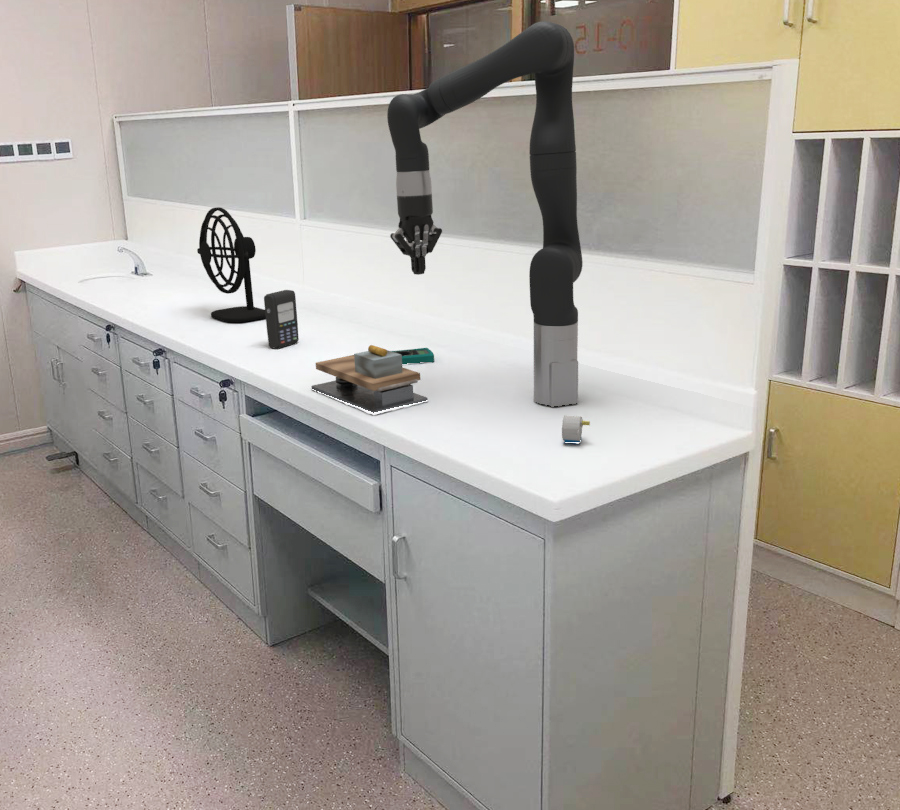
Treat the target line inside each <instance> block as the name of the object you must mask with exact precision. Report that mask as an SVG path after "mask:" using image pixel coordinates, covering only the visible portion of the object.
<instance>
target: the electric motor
mask: <svg viewBox="0 0 900 810" xmlns="http://www.w3.org/2000/svg"><path fill="white" fill-rule="evenodd" d="M562 418H563V419H562V425H561V438H562V440H563V441H564V443H565V442H580V440H581V441H582V435H583V434H582V433H583V427H584V426H590V425H591V421H590V420H584V419H583V417H582V416H577V415H576V416H575V415H563V417H562Z"/></svg>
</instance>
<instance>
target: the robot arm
mask: <svg viewBox="0 0 900 810" xmlns="http://www.w3.org/2000/svg"><path fill="white" fill-rule="evenodd" d="M574 61H575V43H574V40H573V37H572V35H571V33H570V32H569V30H568V29H567V28H565V26H564V25H563V26H562V25H560V24H558V23H554V22H552V21H543V20H542V21H537V22H535V23H533V24H532V25H530V26H528V27H527V28H526V29H524V30H523V31H522V32H520V33H519V34H517V35H516V36H514V37H513V38H512V39H510V40H509V41H508V42H506V43H505V44H503V45H502V46H500V47H498V48H497V49H495V50H494V51H492V52H490V53H488V54H487V55H485V56H483V57H481V58H479V59H477V60H475V61H473V62H471V63H469V64H466V65H464V66H462V67H459V68H458V69H455V70H454V71H452V72H449V73H447V74H445V75H443V76H441V77H439V78H437V79H435V80H434V81H432V82H431V83H429V86H428V87H427V88H425V89H423V90H420V91H419V92H416V93H413V94H407V93H405V94H404V93H402V94H401V93H400V94H397V95H396V96H394V97H393V98H392V99H391V100H390V102H389V104H388V107H387V113H386V114H387V115H386V116H387V125H388V130H389V132H390V133H389V134H390V137H391V141H392V145H393V147H394V150H395V152H394V153H395V170H396V176H395V177H396V180H395V187H396V188H395V189H396V202H397V204H396V206H397V215H398V217H399V222H398V229H396V231H395V232H394V233H393V232H392V233H390V234H389V236H390V239H391V240H392V242H393V243H394V244H395V245H396V247H397V248H398V249H399V251H400V252H401V253H402V254H403V255H405V256H408V257H409V258H410V265H411V267H410V268H411V272H413V274H414V275H424V274H425V272H426V269H427V267H426V257H427V255H428V254H431V253H432V252H433V251H434V249H435V247H436V245H437V242H438V241H439V238H440V237H441V235H442V234H443V229H442V228H440V227H437V226H436V225H435V224H434V220H433V218H432V215H433V212H434V209H433V190H432V177H431V173H430V155H429V149H428V145H427V144H426V143H425V142H423V140H422V138H421V131H420V129H423V128H425V127H427V126H429V125H432V124H434V123H435V122H436V121H438V120H440V119H441V118H442V117H443V118H444V116H445V115H448V114H450V113H453V112H455V111H457V110H460V109H461V108H464V107H466V106H468V105H471V104H472V103H475V102H476V101H478V100H480V99H481V98H483V97H484V96H486V95H487V94H488V93H490V92H492V91H493V90H494V89H497V87H499V86H501V85H503V84H505V83H507V82H509V81H513V80H514V79H518V78H520V77H524V76H528V75H532V74H533V75H534V76H533V77H534V83H535V93H536V94H535V95H536V96H535V99H536V102H535V111H534V117H533V122H532V124H531V125H532V126H531V130H530V131H531V133H530V138H529V169H530V180H531V185H532V189H533V192H534V195H535V199H536V202H537V204H538V207H539V210H540V214H541V217H542V218H541V219H542V230H543V237H542V238H543V239H542V248H541V249H539V250H538V251H537V252H535V254H534V255H533V257H531V258H532V259H531V260H530V266H529V279H528V280H529V299H530V300H529V301H530V309H531V312H532V315H533V401H534V402H535V401H536V402H537V403H536V402H535V403H536V404H538V403H540V404H539V405H541V404H545V405H544V406H547V405H550V406H551V407H550V406H549V407H550V408H555V407H554V406H558V407H563V406H562V405H565V406H570V405H569V404H572V405H577V404H576V403H578V404H579V400H578V399H579V398H578V397H579V361H578V347H579V346H578V338H579V337H578V336H579V332H578V331H579V327H578V326H579V310H578V307H576V305H575V302H574V283H575V282H576V281H577V280H578V279H579V277H580V276H581V273H582V271H583V264H584V263H583V255H582V248H581V247H582V246H581V241H580V234H579V233H580V232H579V226H578V216H577V214H578V210H577V209H578V208H577V207H578V185H577V183H578V182H577V173H578V172H577V167H578V166H577V152H576V150H577V147H576V145H577V144H576V134H575V133H576V132H575V117H574V109H573V107H574V106H573V83H574V82H573V81H574V78H573V77H574V64H575V63H574Z"/></svg>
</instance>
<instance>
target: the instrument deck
mask: <svg viewBox="0 0 900 810" xmlns="http://www.w3.org/2000/svg"><path fill="white" fill-rule="evenodd" d="M367 349H368V350H367V351H362V352H356V353H354V354H352V355H347V356H343V357H341V356H340V357H337V358H332V359H326V360H323V361H317V362H315V369H316V370H317V371H321V372H323V373H325V374H328V375H331V376H333V377H335V378H336V377H338V378H341V379H343V380H346V381H349V382H351V383H354V384H357V385H359V386H362V387H364V388H367V389H370V390H372V391H376V390H377V392H380V391H384V390H388V389H392V388H397V387H401V386H405V385H409V384H411V385H413V384H416V383H419V381H421V373H420V372H417V371H414V370H412V369H409V368H405V367H403V365H402V355H401V354H398V353H395V352H391V351H392V350H388V349H386V348H384V347H380V346H376V345H373V344H370V345H369V346H368V348H367Z"/></svg>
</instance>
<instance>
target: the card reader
mask: <svg viewBox="0 0 900 810" xmlns="http://www.w3.org/2000/svg"><path fill="white" fill-rule="evenodd" d="M296 299H297V298H296V292H295V291H294V290H293V289H292V290H291V289H284V290H279V291H275V292H271V293H266V294H265V295H264V297H263V301H264V303H263V304H264V305H263V306H264V310H265V315H266V318H265V323H266V333H267V341H268V347H270V348H271V349H281V348H285V347H288V346H291V345H294V344H297V343H298V342H299V327H298V314H297V300H296Z"/></svg>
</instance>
